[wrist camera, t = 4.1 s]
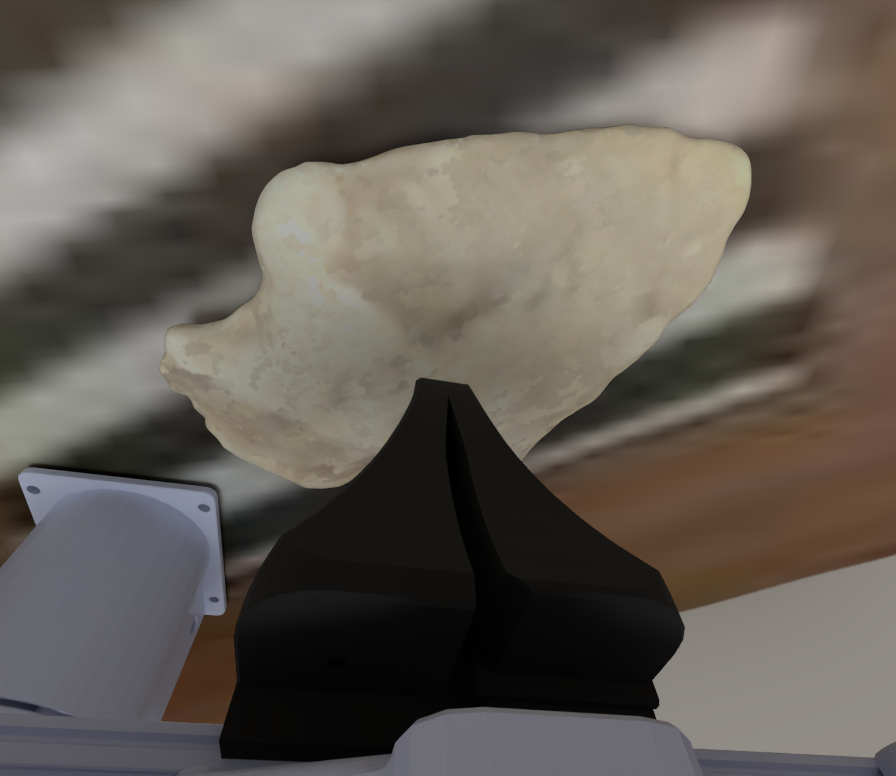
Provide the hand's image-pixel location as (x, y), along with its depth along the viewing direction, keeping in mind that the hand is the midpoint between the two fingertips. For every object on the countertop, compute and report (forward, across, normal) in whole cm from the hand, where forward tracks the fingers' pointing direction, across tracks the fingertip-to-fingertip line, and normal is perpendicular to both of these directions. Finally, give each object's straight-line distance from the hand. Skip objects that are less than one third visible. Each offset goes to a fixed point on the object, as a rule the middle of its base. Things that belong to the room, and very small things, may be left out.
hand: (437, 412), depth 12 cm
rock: (+7, 0, 0) cm, 7 cm away
